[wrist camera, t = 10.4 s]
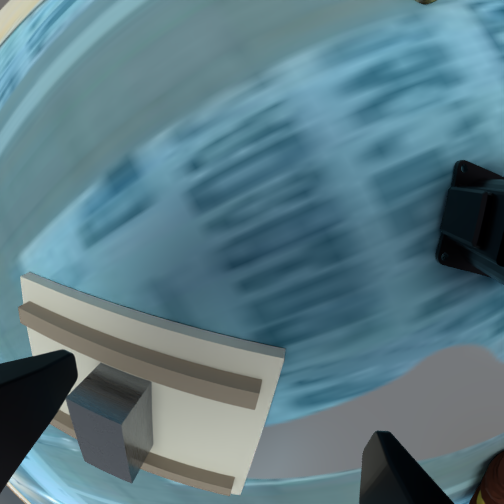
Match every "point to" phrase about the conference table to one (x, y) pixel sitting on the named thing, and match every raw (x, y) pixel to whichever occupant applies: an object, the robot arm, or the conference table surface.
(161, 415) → the plate
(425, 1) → the seal
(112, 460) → the block
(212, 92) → the conference table surface
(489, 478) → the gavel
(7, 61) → the conference table surface
